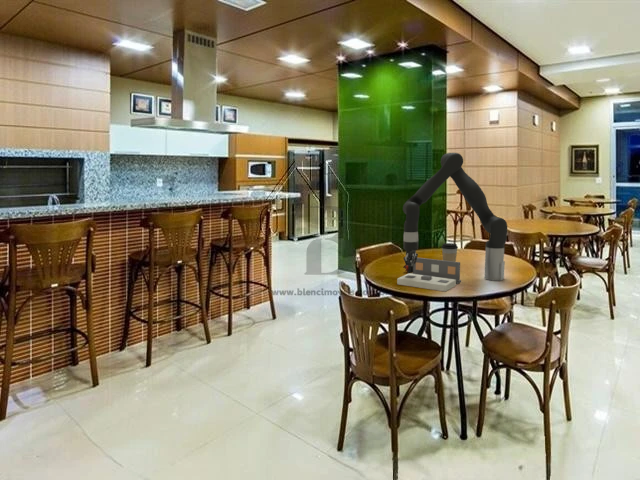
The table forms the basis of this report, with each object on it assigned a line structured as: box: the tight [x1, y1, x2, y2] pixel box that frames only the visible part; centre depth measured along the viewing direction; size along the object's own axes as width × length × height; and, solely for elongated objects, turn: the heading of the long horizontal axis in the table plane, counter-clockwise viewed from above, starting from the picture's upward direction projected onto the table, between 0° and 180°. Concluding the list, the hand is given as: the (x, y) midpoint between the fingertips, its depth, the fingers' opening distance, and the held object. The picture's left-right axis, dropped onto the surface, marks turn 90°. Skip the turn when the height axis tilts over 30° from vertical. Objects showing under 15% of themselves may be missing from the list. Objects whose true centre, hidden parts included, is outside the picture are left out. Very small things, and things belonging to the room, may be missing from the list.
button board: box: [396, 273, 457, 292], centre depth 230 cm, size 26×14×3 cm, turn 54°
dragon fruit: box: [402, 263, 408, 273], centre depth 257 cm, size 8×8×12 cm
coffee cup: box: [440, 242, 459, 262], centre depth 262 cm, size 9×9×15 cm
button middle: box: [421, 275, 432, 281], centre depth 230 cm, size 4×4×3 cm
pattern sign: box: [412, 257, 462, 285], centre depth 239 cm, size 26×6×11 cm, turn 54°
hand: (410, 272), depth 235 cm, fingers closed
